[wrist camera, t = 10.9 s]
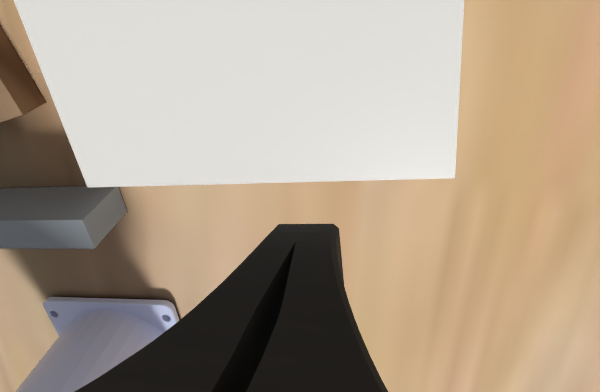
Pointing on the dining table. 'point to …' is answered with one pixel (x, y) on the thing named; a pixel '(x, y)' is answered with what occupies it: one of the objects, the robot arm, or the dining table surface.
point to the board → (252, 88)
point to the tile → (15, 83)
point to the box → (58, 216)
